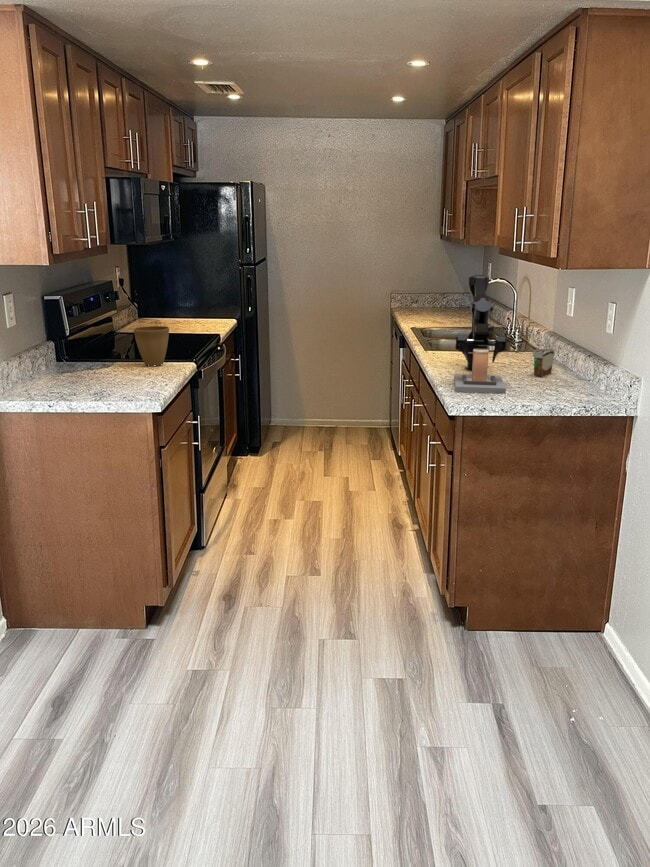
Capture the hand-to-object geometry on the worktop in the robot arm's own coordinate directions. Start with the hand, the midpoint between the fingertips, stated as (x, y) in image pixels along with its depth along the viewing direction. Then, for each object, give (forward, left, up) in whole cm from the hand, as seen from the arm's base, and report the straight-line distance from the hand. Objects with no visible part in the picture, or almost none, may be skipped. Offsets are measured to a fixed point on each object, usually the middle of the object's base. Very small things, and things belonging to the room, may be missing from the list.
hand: (480, 361), depth 279 cm
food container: (-22, +32, -10) cm, 40 cm away
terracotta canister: (-1, 0, -8) cm, 8 cm away
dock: (-3, +1, -10) cm, 10 cm away
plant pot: (-52, -128, -10) cm, 139 cm away
